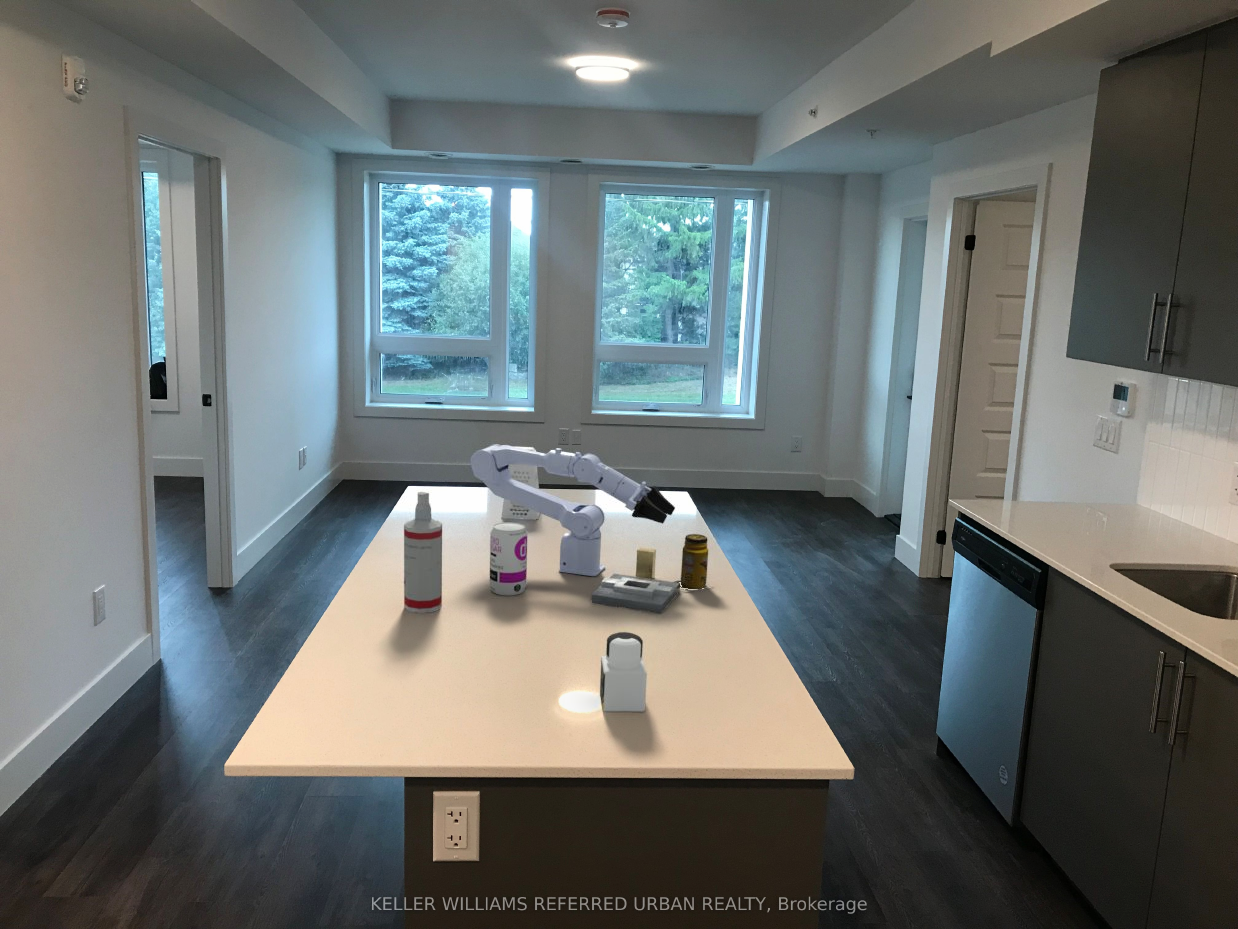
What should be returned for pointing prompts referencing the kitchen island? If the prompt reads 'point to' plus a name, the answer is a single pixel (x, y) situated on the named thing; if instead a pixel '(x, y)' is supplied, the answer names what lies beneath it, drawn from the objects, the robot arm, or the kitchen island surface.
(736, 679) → the kitchen island surface
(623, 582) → the bracket
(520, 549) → the supplement can
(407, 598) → the spray bottle
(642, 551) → the wooden rectangular block
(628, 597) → the grey square plate
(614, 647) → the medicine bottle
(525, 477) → the grater
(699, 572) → the condiment
